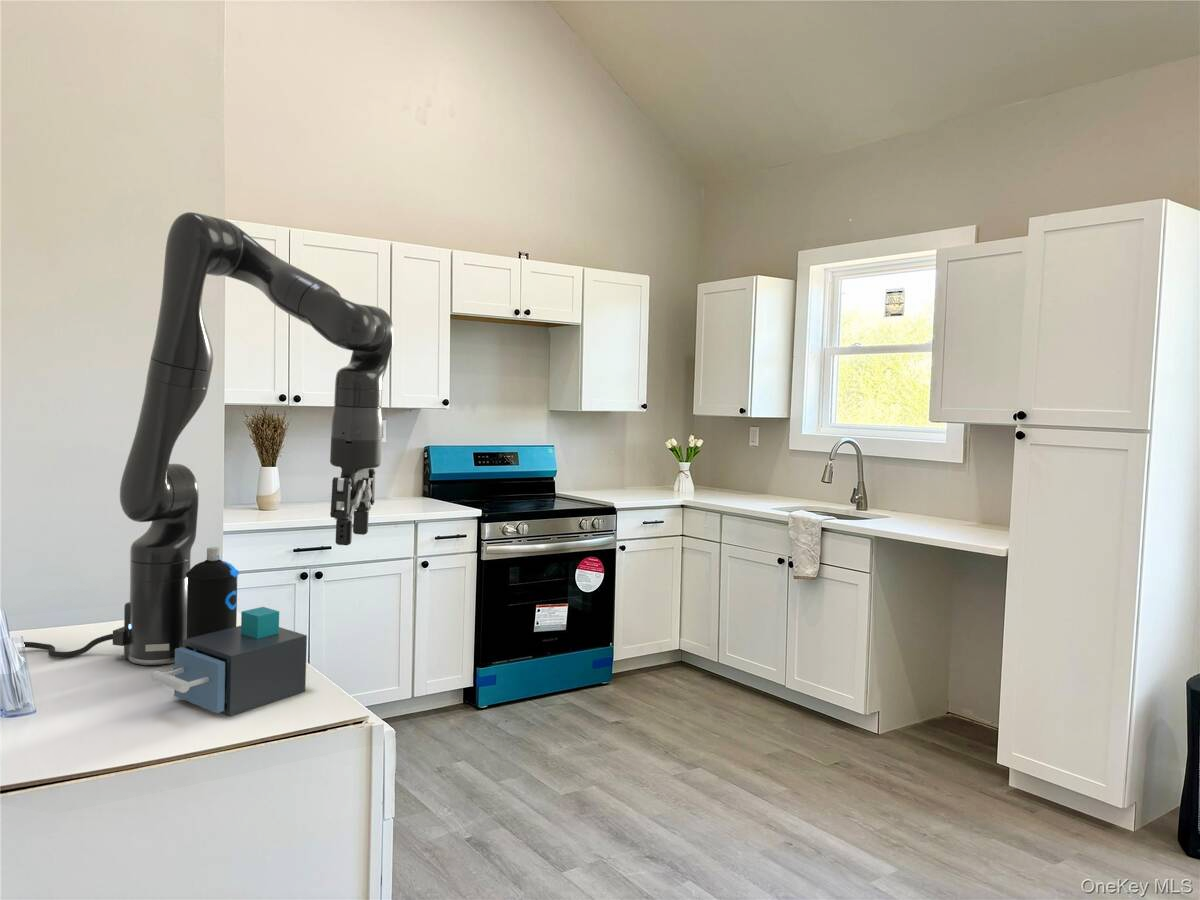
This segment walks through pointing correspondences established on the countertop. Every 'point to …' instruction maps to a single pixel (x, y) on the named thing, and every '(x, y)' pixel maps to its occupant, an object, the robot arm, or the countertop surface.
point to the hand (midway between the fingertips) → (352, 539)
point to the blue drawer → (197, 678)
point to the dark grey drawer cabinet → (256, 665)
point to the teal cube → (259, 622)
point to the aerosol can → (211, 595)
